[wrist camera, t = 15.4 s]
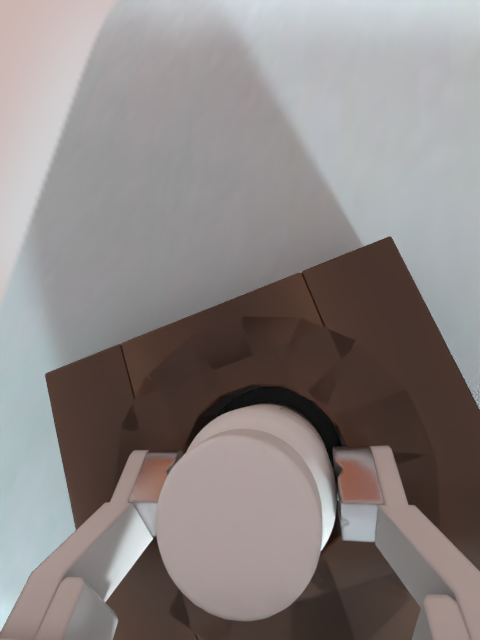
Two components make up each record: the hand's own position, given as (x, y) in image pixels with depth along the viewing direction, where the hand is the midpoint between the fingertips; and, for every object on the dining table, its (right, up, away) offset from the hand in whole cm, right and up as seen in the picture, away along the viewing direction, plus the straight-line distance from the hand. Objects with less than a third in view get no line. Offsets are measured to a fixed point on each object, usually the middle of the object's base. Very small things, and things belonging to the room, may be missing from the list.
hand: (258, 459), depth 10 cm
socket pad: (+1, -1, +4) cm, 4 cm away
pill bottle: (+1, -1, +4) cm, 5 cm away
